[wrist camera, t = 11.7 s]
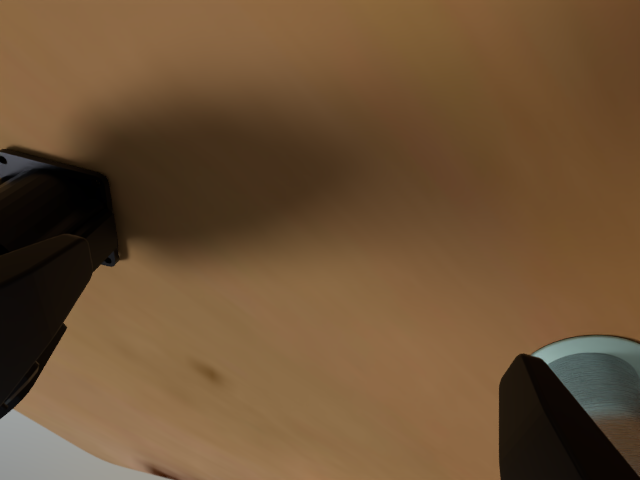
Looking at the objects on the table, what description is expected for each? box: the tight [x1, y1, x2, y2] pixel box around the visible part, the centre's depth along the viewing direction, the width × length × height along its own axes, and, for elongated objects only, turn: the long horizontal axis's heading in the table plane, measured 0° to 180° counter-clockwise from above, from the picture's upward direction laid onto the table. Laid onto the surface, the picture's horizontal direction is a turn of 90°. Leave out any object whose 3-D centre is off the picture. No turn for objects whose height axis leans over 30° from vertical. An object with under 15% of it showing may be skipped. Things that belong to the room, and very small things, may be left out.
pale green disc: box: [531, 335, 640, 377], centre depth 26 cm, size 8×8×1 cm
